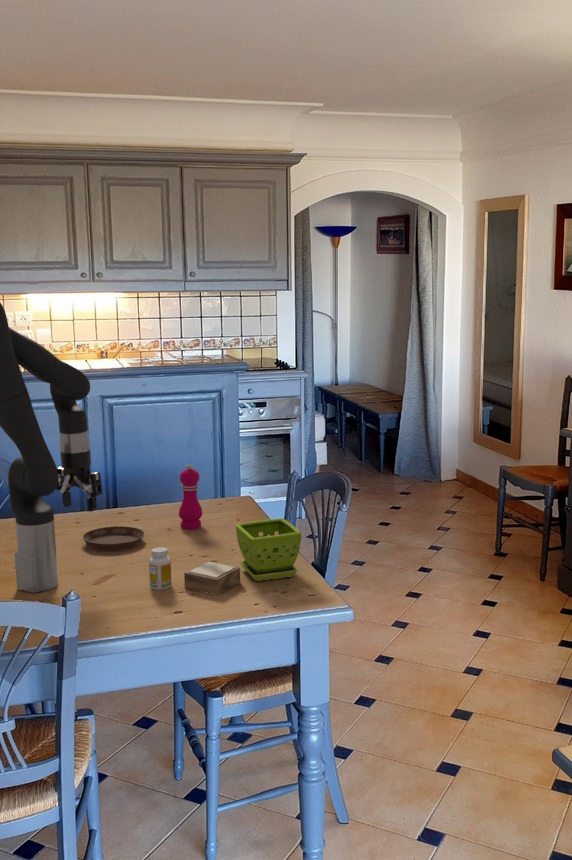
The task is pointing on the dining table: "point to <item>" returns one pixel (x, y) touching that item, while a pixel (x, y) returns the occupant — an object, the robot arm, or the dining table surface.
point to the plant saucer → (113, 538)
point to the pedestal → (212, 577)
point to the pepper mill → (190, 500)
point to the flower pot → (268, 548)
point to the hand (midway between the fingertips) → (79, 508)
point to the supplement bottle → (160, 569)
